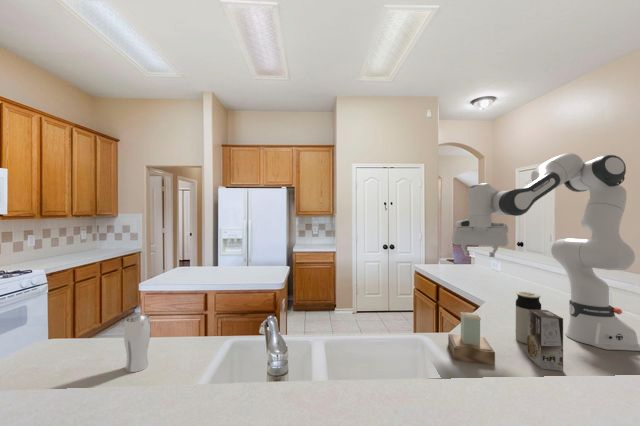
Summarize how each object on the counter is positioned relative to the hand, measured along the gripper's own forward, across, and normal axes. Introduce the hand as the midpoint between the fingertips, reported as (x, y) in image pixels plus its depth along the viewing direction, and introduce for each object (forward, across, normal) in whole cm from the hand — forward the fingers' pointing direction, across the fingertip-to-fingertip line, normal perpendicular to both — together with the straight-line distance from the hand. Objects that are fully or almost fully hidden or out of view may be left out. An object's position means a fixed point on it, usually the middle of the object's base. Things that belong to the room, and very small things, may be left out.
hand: (479, 256), depth 121 cm
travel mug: (+31, -16, +4) cm, 35 cm away
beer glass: (+32, +109, +61) cm, 129 cm away
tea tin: (+27, +8, +22) cm, 35 cm away
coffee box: (+31, -14, +22) cm, 41 cm away
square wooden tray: (+31, +8, +22) cm, 39 cm away
